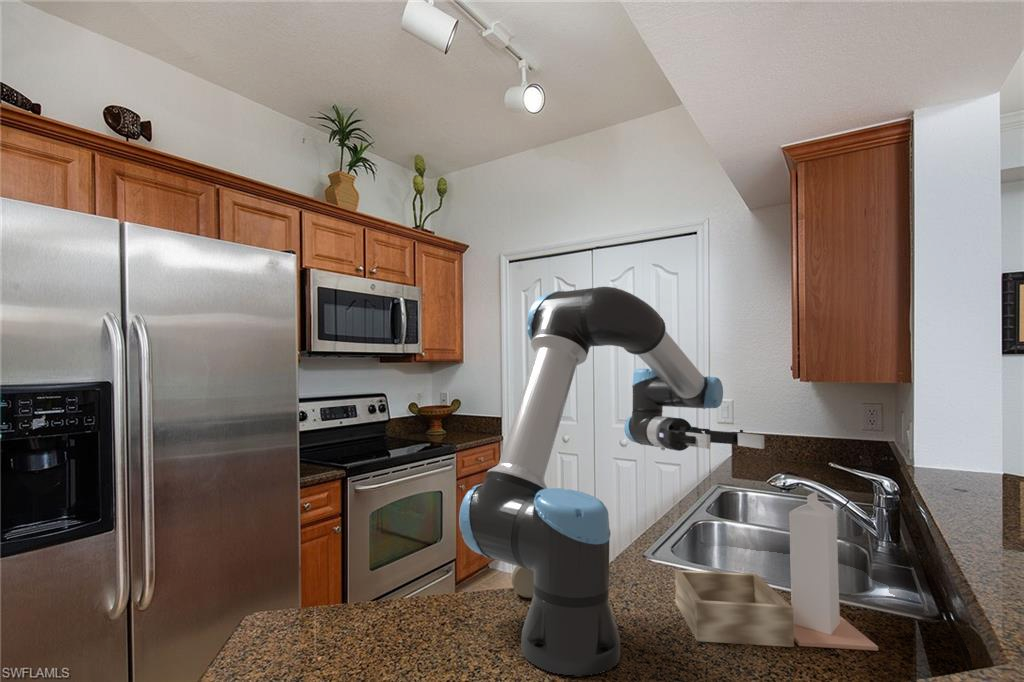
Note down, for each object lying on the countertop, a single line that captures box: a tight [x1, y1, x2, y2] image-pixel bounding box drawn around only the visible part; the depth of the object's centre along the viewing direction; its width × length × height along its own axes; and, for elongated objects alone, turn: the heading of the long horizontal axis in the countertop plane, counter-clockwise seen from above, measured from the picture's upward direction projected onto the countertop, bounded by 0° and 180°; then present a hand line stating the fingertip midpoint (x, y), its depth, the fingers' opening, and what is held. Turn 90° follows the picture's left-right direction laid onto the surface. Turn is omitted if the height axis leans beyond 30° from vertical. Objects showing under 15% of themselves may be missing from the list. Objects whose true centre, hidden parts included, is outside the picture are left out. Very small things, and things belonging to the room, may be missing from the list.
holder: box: [674, 569, 795, 648], centre depth 91 cm, size 15×15×6 cm
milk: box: [788, 491, 841, 635], centre depth 90 cm, size 6×6×22 cm
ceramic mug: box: [510, 565, 534, 599], centre depth 102 cm, size 11×8×8 cm
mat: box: [793, 615, 879, 651], centre depth 89 cm, size 12×14×1 cm
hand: (736, 441), depth 104 cm, fingers open, 13 cm apart
